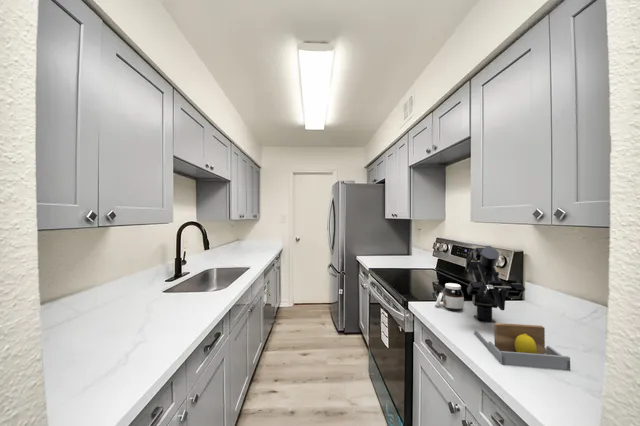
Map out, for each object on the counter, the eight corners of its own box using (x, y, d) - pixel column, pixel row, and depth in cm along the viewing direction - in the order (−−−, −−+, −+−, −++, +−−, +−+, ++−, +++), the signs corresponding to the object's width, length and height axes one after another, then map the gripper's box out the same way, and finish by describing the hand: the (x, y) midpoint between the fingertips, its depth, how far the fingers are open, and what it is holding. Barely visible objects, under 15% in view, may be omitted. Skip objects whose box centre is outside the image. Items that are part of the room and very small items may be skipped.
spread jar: (466, 312, 123) (466, 287, 123) (442, 312, 123) (441, 287, 123) (454, 304, 135) (453, 281, 135) (431, 304, 135) (431, 281, 135)
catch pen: (474, 334, 101) (474, 324, 101) (527, 338, 97) (527, 327, 97) (502, 365, 80) (501, 352, 80) (570, 371, 77) (570, 357, 77)
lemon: (515, 352, 87) (514, 328, 87) (536, 358, 84) (536, 333, 84) (514, 360, 83) (514, 334, 83) (537, 366, 79) (536, 339, 79)
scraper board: (494, 349, 89) (494, 322, 89) (541, 353, 86) (541, 325, 86) (496, 352, 87) (496, 324, 87) (544, 355, 85) (544, 327, 85)
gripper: (506, 284, 112) (522, 321, 101) (459, 283, 115) (469, 318, 104) (516, 270, 104) (535, 307, 93) (466, 268, 107) (477, 304, 96)
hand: (502, 309), depth 97 cm, fingers closed
